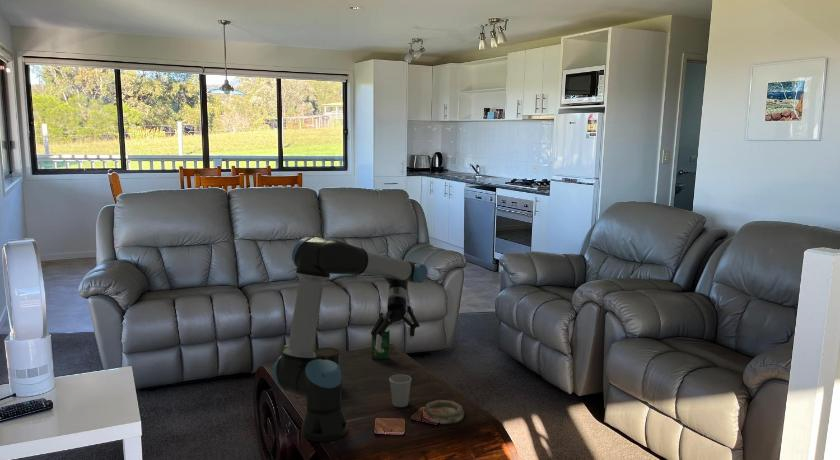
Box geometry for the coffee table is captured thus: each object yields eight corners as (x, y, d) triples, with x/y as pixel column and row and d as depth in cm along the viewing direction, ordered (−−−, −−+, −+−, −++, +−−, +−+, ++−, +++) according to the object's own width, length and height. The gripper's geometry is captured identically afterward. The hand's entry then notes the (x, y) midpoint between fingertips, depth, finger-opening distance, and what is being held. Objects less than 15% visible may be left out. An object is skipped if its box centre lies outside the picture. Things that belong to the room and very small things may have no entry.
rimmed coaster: (438, 427, 205) (438, 421, 205) (414, 411, 217) (414, 405, 217) (472, 416, 213) (472, 410, 213) (447, 402, 226) (447, 395, 225)
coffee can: (334, 391, 235) (334, 357, 233) (310, 389, 237) (309, 354, 235) (343, 381, 244) (343, 348, 243) (320, 379, 247) (319, 346, 245)
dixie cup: (408, 409, 219) (409, 383, 218) (386, 407, 221) (386, 381, 219) (413, 400, 227) (413, 375, 226) (392, 398, 229) (392, 373, 227)
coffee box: (390, 357, 273) (390, 329, 272) (389, 359, 271) (389, 331, 269) (372, 356, 274) (372, 328, 272) (371, 358, 271) (371, 330, 269)
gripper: (429, 299, 240) (427, 345, 225) (374, 312, 248) (369, 357, 234) (421, 288, 235) (418, 335, 220) (365, 302, 243) (360, 348, 229)
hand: (393, 347), depth 227 cm, fingers open, 13 cm apart
